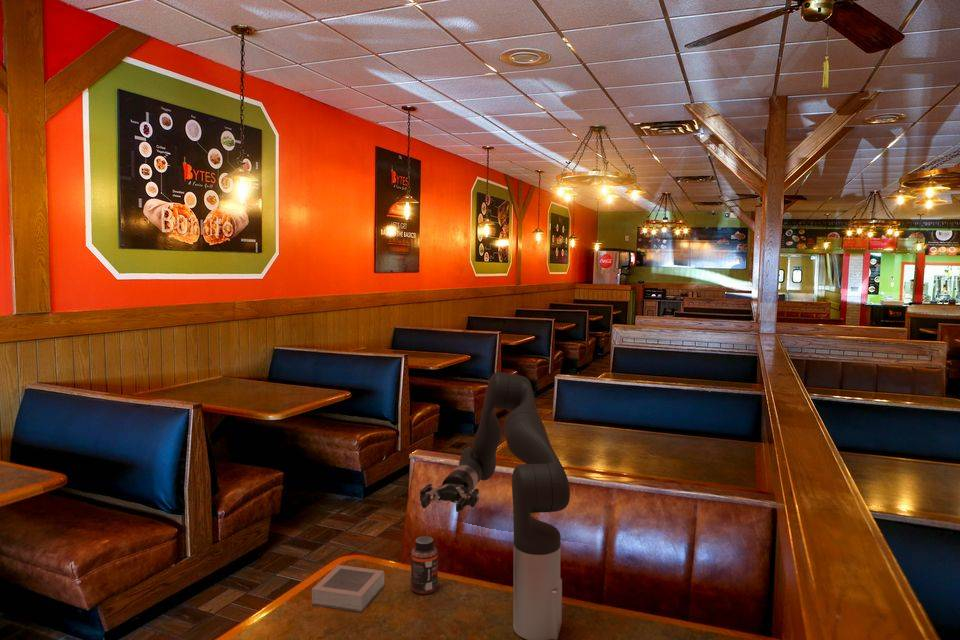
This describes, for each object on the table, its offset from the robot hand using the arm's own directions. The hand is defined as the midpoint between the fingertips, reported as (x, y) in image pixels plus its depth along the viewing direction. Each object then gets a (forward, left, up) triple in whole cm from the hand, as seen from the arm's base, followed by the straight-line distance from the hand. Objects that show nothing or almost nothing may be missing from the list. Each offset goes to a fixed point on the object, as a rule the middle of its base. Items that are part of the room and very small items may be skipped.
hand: (440, 506), depth 152 cm
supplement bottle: (0, +11, -15) cm, 19 cm away
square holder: (+15, +18, -15) cm, 28 cm away
